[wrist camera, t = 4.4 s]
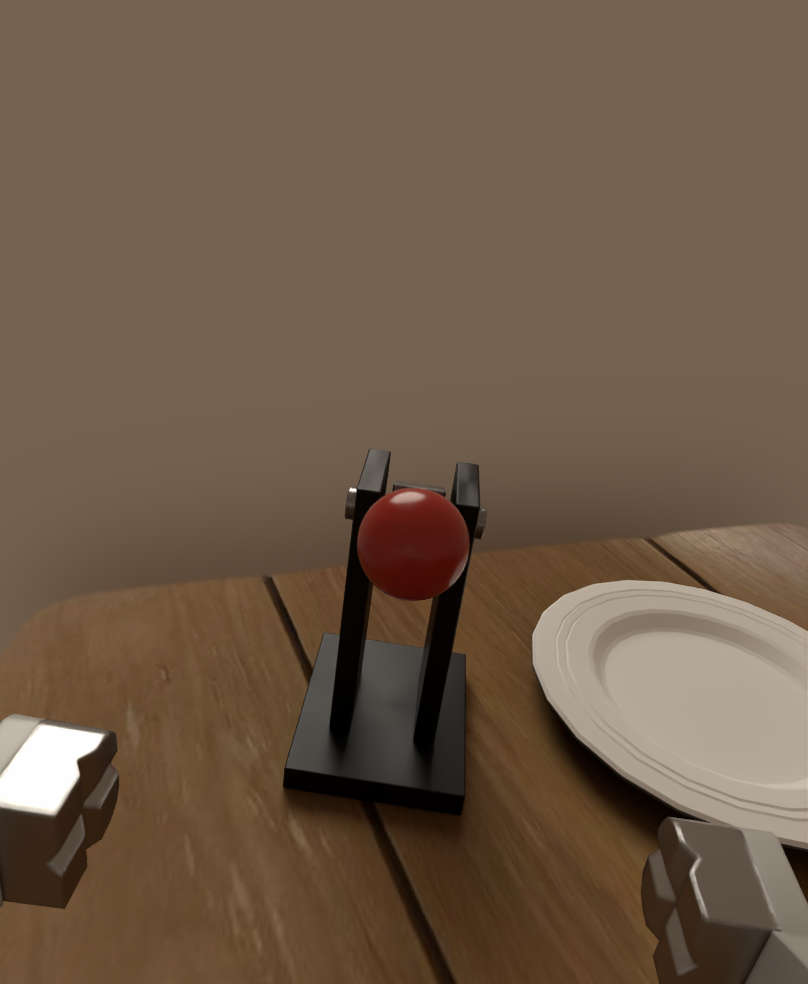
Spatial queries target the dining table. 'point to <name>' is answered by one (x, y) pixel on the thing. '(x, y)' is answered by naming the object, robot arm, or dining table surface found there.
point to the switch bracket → (388, 685)
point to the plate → (685, 699)
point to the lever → (413, 542)
